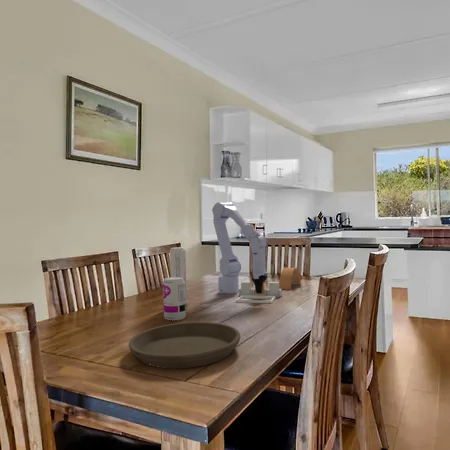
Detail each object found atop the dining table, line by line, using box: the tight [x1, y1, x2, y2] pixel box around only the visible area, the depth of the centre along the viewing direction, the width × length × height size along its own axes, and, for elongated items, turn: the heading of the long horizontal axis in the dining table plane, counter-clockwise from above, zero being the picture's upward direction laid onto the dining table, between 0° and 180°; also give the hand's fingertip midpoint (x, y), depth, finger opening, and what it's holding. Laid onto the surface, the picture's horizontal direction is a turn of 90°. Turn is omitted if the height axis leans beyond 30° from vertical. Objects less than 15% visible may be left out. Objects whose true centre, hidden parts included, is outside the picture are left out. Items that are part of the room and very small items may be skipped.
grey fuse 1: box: [240, 281, 252, 294], centre depth 184 cm, size 4×2×6 cm, turn 73°
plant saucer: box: [128, 321, 241, 369], centre depth 113 cm, size 31×31×5 cm
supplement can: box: [162, 276, 187, 322], centre depth 150 cm, size 8×8×15 cm
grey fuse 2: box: [268, 281, 280, 294], centre depth 181 cm, size 4×2×6 cm, turn 73°
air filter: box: [169, 246, 188, 308], centre depth 169 cm, size 6×6×25 cm
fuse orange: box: [255, 281, 266, 294], centre depth 183 cm, size 4×2×6 cm, turn 73°
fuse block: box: [238, 287, 283, 298], centre depth 183 cm, size 19×7×4 cm, turn 73°
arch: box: [279, 267, 302, 290], centre depth 204 cm, size 6×20×10 cm, turn 155°
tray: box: [235, 296, 276, 304], centre depth 172 cm, size 15×9×2 cm, turn 73°
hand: (260, 292), depth 183 cm, fingers open, 4 cm apart
